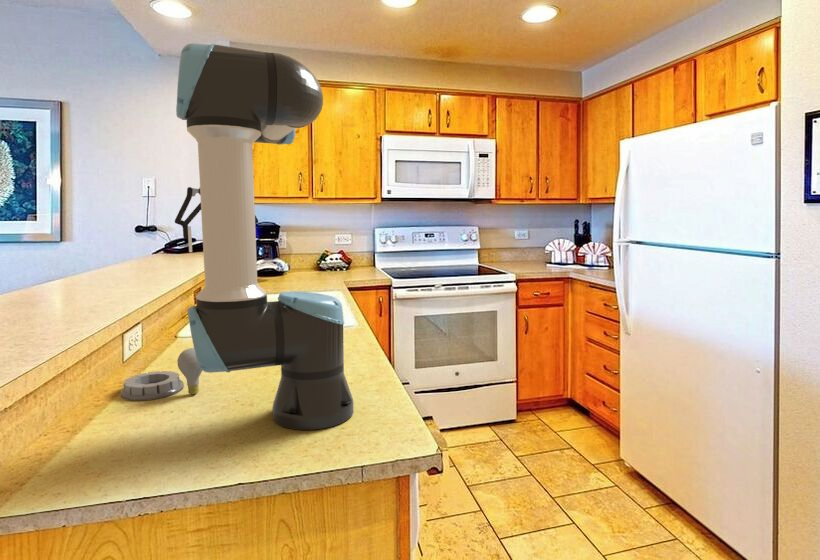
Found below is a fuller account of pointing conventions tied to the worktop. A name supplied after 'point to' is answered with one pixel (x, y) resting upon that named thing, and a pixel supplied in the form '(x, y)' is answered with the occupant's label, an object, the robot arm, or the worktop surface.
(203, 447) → the worktop surface
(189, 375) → the light bulb
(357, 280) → the worktop surface
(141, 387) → the socket
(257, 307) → the robot arm
